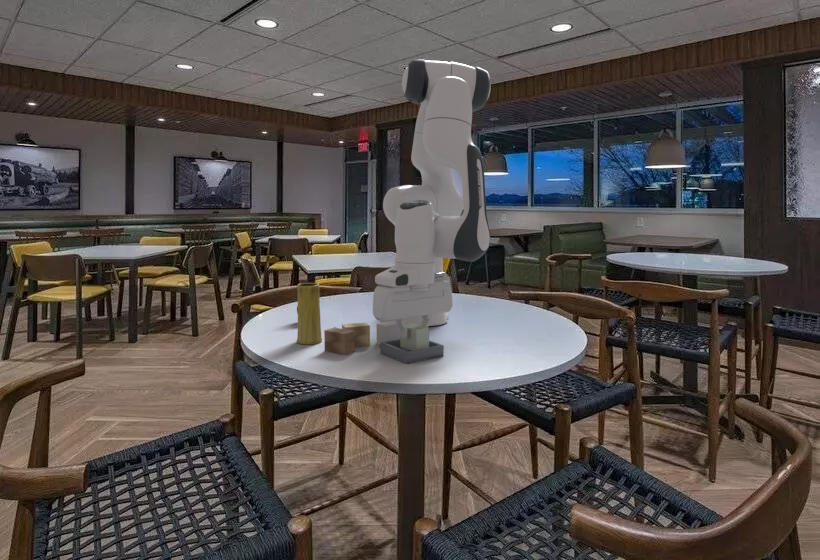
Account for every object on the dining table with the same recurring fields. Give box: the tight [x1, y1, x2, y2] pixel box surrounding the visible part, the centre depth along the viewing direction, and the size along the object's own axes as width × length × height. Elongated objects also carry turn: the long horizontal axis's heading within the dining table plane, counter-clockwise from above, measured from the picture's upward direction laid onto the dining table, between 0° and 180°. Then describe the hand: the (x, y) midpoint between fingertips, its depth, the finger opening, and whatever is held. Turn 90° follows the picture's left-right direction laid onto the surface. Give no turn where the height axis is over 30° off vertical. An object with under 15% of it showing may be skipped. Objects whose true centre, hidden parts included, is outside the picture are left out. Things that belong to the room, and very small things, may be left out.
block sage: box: [400, 323, 430, 351], centre depth 117 cm, size 6×4×5 cm, turn 38°
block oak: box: [341, 322, 371, 348], centre depth 125 cm, size 6×4×5 cm, turn 111°
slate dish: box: [379, 339, 445, 365], centre depth 117 cm, size 10×10×2 cm
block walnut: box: [323, 327, 355, 356], centre depth 119 cm, size 6×4×5 cm, turn 57°
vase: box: [296, 282, 323, 346], centre depth 127 cm, size 6×6×14 cm
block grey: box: [376, 320, 400, 345], centre depth 127 cm, size 6×4×5 cm, turn 136°
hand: (414, 335), depth 117 cm, fingers closed on block sage, 3 cm apart
